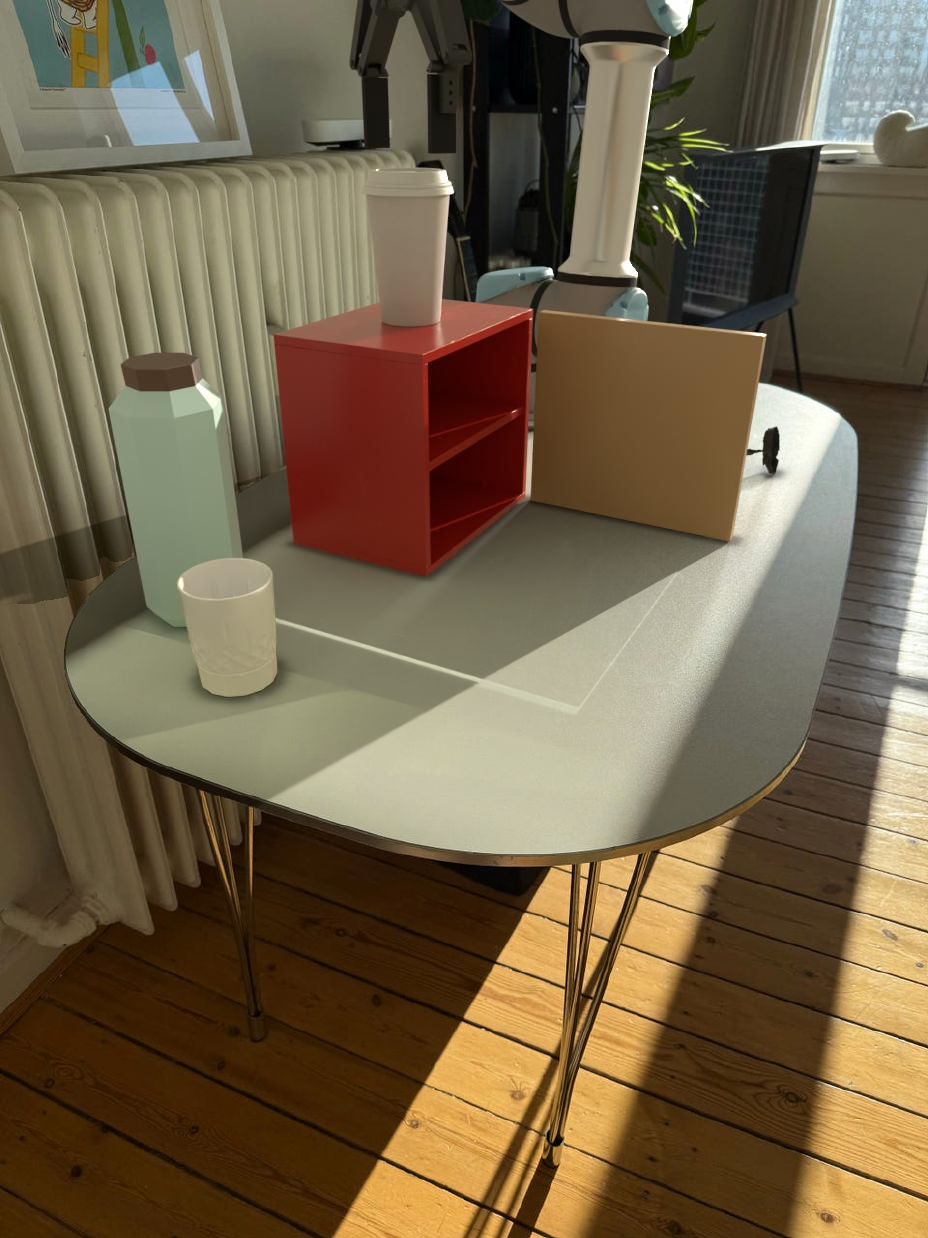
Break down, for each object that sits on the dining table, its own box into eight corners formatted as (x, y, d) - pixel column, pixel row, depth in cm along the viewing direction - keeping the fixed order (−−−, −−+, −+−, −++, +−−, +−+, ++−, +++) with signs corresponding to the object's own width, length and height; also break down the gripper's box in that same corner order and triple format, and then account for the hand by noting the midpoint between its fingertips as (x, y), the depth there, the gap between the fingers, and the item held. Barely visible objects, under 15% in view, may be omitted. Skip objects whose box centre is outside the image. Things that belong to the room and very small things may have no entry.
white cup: (176, 677, 81) (158, 578, 76) (249, 644, 86) (237, 549, 81) (227, 712, 76) (211, 609, 71) (301, 675, 81) (291, 576, 76)
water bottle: (143, 595, 94) (96, 353, 82) (238, 578, 98) (207, 343, 85) (154, 640, 86) (104, 380, 74) (258, 620, 90) (227, 368, 77)
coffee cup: (443, 331, 95) (442, 173, 87) (356, 327, 97) (348, 171, 89) (461, 314, 103) (462, 167, 96) (381, 310, 105) (375, 166, 97)
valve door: (556, 480, 124) (566, 299, 112) (746, 516, 113) (780, 321, 101) (530, 500, 117) (538, 311, 105) (729, 541, 106) (763, 336, 94)
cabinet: (525, 498, 118) (533, 308, 106) (426, 577, 98) (422, 354, 86) (408, 474, 125) (403, 294, 113) (293, 544, 105) (273, 334, 93)
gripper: (515, -137, 74) (507, 154, 84) (375, -89, 92) (383, 145, 102) (436, -150, 70) (438, 156, 81) (307, -97, 88) (323, 146, 99)
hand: (407, 150), depth 92 cm, fingers open, 13 cm apart
